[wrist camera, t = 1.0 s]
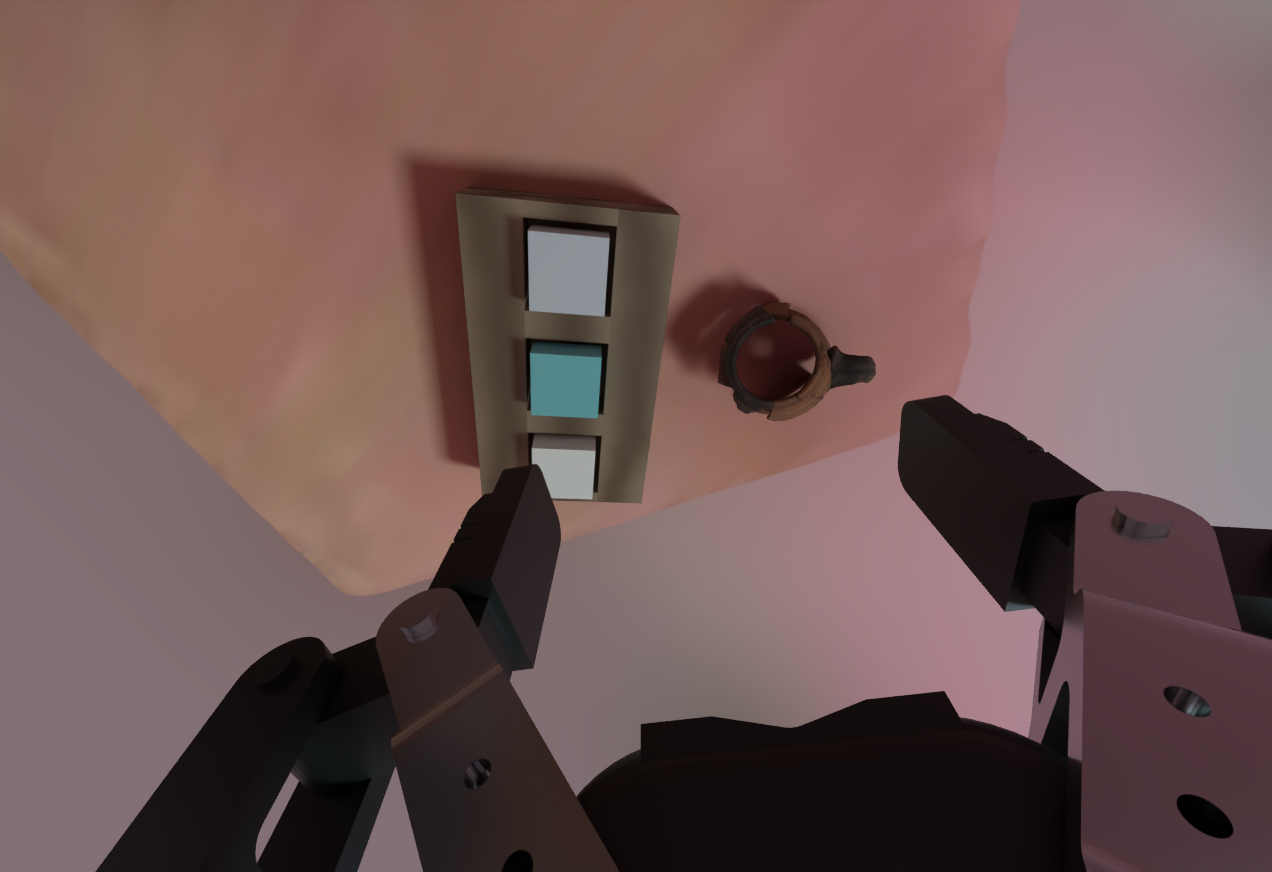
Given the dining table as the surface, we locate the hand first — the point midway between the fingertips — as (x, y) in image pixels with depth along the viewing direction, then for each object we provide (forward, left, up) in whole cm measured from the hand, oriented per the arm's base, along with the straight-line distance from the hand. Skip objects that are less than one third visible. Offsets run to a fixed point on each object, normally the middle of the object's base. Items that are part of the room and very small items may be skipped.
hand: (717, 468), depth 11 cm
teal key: (-4, -10, -26) cm, 28 cm away
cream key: (-4, -18, -26) cm, 31 cm away
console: (-4, -10, -29) cm, 31 cm away
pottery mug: (+14, -8, -29) cm, 33 cm away
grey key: (-4, -2, -26) cm, 26 cm away
